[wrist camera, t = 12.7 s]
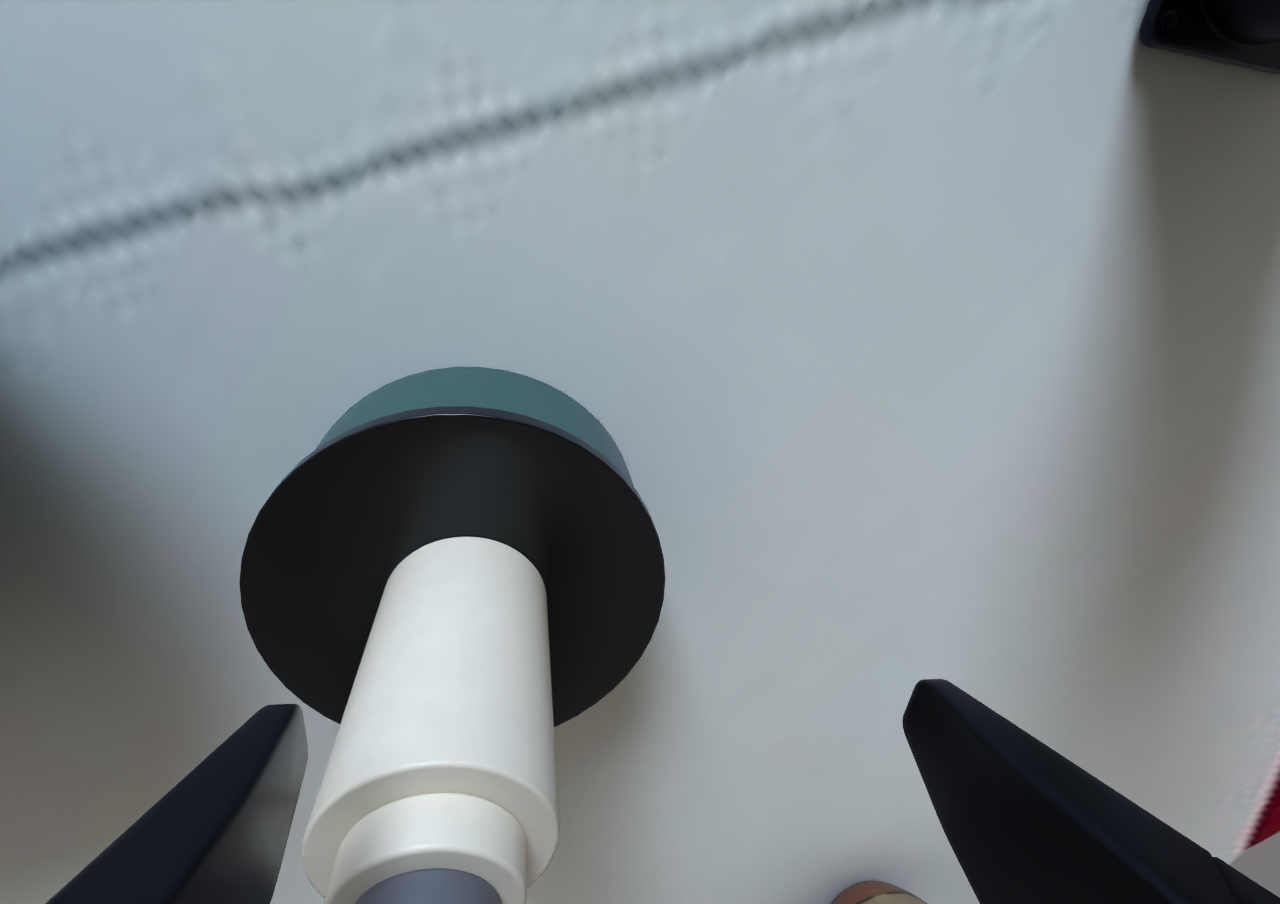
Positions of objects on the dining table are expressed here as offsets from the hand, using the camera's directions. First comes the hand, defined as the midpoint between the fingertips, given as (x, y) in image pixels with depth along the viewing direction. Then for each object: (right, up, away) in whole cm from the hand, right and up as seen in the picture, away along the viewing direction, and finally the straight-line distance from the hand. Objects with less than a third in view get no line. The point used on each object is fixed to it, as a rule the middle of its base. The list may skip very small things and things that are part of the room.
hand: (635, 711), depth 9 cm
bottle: (-5, 0, +8) cm, 10 cm away
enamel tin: (-6, +1, +12) cm, 14 cm away
